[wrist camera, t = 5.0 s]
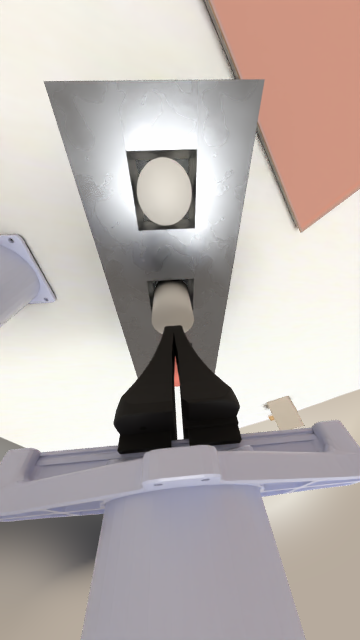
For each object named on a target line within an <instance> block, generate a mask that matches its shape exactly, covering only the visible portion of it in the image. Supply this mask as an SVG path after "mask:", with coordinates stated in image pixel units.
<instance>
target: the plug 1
mask: <svg viewBox="0 0 360 640" xmlns="http://www.w3.org/2000/svg"><path fill="white" fill-rule="evenodd" d="M137 197H138V201H139V204H140V207H141V209H142V211H143V212H144V214H145V215H146V216H147V217H148V218H149V219H150V220H151V221H153V222H154V223H156V224H159V225H166V226H167V225H172V224H175V223H177V222H178V221H180V220H181V219H182V218H183V217H184V216H185V214H186V213H187V211H188V209H189V207H190V203H191V198H192V189H191V183H190V180H189V177H188V175H187V173H186V171H185V170H184V168H183V167H182V166H181V165H180V164H179V163H178V162H176V161H175V160H173V159H170V158H166V157H160V158H156V159H153V160H151V161H150V162H148V163H147V164H146V165H145V166H144V168H143V169H142V171H141V173H140V175H139V178H138V182H137Z"/></svg>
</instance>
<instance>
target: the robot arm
mask: <svg viewBox="0 0 360 640" xmlns="http://www.w3.org/2000/svg"><path fill="white" fill-rule="evenodd" d="M10 238H11V239H13V241H14V242H12V241H11V239H10ZM46 298H48V299H46ZM55 300H56V297H55V296H54V294H53V292H52V290H51V288H50V287H49V285H48V283H47V281H46V279H45V278H44V276H43V274H42V272H41V271H40V269H39V267H38V265H37V263H36V262H35V260H34V258H33V256H32V254H31V253H30V251H29V249H28V247H27V245H26V244H25V242H24V240H23V239H22V237H20V236H19V235H16V234H13V235H0V327H1V326H2V325H3V324H5V323H6V322H7V321H8V320H9V319H10V318H12V317H13V316H14V315H15V314H16V313H17V312H19V311H20V310H21V309H22V308H23V307H24V306H25V305H27V304H33V303H50V302H54V301H55ZM175 357H176V363H177V369H178V375H179V382H180V393H181V407H182V421H183V435H184V439H182V440H177V427H176V409H175V390H174V374H175ZM239 408H240V405H239V402H238V400H237V398H236V396H235V394H234V392H233V390H232V389H231V387H229V386H228V385H227V384H226V383H224V382H223V381H222V380H221V379H220V378H219V377H218V376H216V375H215V374H214V373H213V372H212V371H211V370H210V369H209V368H208V367H207V365H206V364H205V363H204V362H203V361H202V360H201V358H200V357H199V356H198V354H197V353H196V352H195V350H194V349H193V347H192V346H191V344H190V342H189V340H188V339H187V337H186V335H185V333H184V330H183V327H182V326H181V325H177V326H165V327H164V331H163V335H162V338H161V340H160V343H159V345H158V347H157V349H156V351H155V354H154V355H153V357H152V359H151V361H150V362H149V364H148V365H147V367H146V368H145V370H144V371H143V373H142V374H141V375H140V377H139V378H138V379H137V380H136V382H135V383H134V384H133V385H132V386H131V387H130V388H129V390H128V391H127V392H126V393H125V394H124V395H123V396H122V397H121V399H120V402H119V404H118V407H117V410H116V414H115V419H114V426H115V428H116V429H117V431H118V432H119V434H120V438H119V444H118V446H107V447H96V448H85V449H74V450H64V451H53V452H42V453H41V452H40V451H39V450H37V449H34V448H24V449H14V450H9V451H7V453H6V455H5V456H4V458H3V460H2V461H1V463H0V521H3V522H8V521H18V520H28V519H40V518H52V517H65V516H79V515H93V514H104V517H103V522H102V527H101V533H100V539H99V544H98V550H97V554H96V560H95V565H94V571H93V576H92V582H91V587H90V592H89V598H88V604H87V608H86V615H85V619H84V625H83V630H82V636H81V640H306V639H305V635H304V632H303V629H302V626H301V623H300V619H299V616H298V613H297V610H296V606H295V603H294V600H293V597H292V594H291V590H290V587H289V584H288V581H287V577H286V574H285V571H284V568H283V565H282V561H281V558H280V555H279V552H278V548H277V545H276V542H275V539H274V536H273V532H272V529H271V526H270V523H269V520H268V516H267V513H266V510H265V507H264V503H263V500H262V497H263V496H270V495H278V494H285V493H292V492H299V491H306V490H313V489H320V488H329V487H337V486H346V485H352V484H355V483H358V482H360V447H359V446H358V444H357V443H356V442H355V440H354V439H353V438H352V436H351V435H350V434H349V432H348V431H347V430H346V428H345V427H344V425H343V424H342V423H341V422H340V421H339V420H331V421H321V422H318V423H316V424H314V425H313V426H312V428H301V429H291V430H280V431H269V432H258V433H247V434H240V431H239V428H238V420H237V417H236V416H237V414H238V411H239Z"/></svg>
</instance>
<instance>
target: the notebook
mask: <svg viewBox="0 0 360 640" xmlns="http://www.w3.org/2000/svg"><path fill="white" fill-rule="evenodd" d="M204 2H205V4H206V7H207V9H208V12H209V14H210V17H211V19H212V21H213V24H214V26H215V29H216V31H217V34H218V36H219V39H220V41H221V44H222V46H223V49H224V51H225V53H226V56H227V58H228V61H229V63H230V66H231V68H232V71H233V73H234V76H235V78H236V80H242V79H265V81H264V87H263V93H262V99H261V105H260V110H259V116H258V122H257V128H256V130H257V132H258V135H259V137H260V140H261V142H262V145H263V147H264V150H265V152H266V154H267V157H268V159H269V162H270V164H271V167H272V169H273V172H274V174H275V177H276V179H277V182H278V184H279V186H280V189H281V191H282V194H283V196H284V199H285V201H286V204H287V206H288V209H289V211H290V214H291V216H292V218H293V221H294V223H295V226H298V227H299V230H300V232H303V231H304V230H306V229H307V228H308V227H310V226H311V225H312V224H314V223H315V222H316V221H318V220H319V219H320V218H322V217H323V216H324V215H326V214H327V213H328V212H330V211H331V210H332V209H334V208H335V207H336V206H338V205H339V204H340V203H342V202H343V201H344V200H346V199H347V198H348V197H350V196H351V195H352V194H354V193H355V192H356V191H358V190H359V189H360V0H204Z"/></svg>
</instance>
